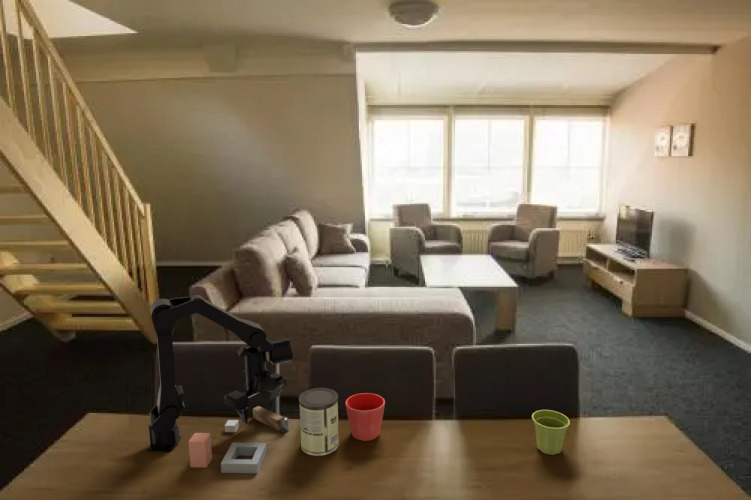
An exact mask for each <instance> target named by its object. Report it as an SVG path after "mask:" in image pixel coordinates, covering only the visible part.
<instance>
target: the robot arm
mask: <svg viewBox="0 0 751 500" xmlns="http://www.w3.org/2000/svg"><path fill="white" fill-rule="evenodd" d="M149 308H150V309H149V312H150V317H151V321H152V324H153V325H152V326H153V329H154V331H155V335H156V341H157V343H156V345H157V355H158V368H159V370H158V371H159V382H160V383H159V389H158V392H157V399H156V402H157V403H155V406H153V407H152V408H151V410H150V411H149V421H150V423H149V425H148V434H149V444H150V445H149V446H148V447H147V451H148V452H150V451H151V452H171V451H172V450H173V449H174V448H175V446H176V445H177V444H178V443H179V442H180V440H181V438H182V436H181V435H180V426H178V423H177V419H179V418H180V417H181V415H182V413H183V409H185V407H186V406H185V403H184V391H183V386H182V385H181V384H179V385H176V375H175V374H176V373H175V372H176V371H175V360H174V359H175V358H174V357H175V356H174V343H173V335H174V334H173V333H174V330H175V326H176V325H175V324H176V321H179V320H182V319H184V318H187V317H189V316H191V315H194V314H198V315H201V316H202V317H204V318H205V319H208V320H210V321H212V322H213V323H214V324H217V325H219V326H220V327H222V328H225V329H226V330H228V331H230V332H232V333H233V334H234V335H235V336H236V337H238V339H240V340H241V341H242V342H243V343H244V344H246V345H247V346H245V345H243V344H242V345H241V347H240V348H239V349H237V351H236V352H237V354H238V356H239V357H240V358H241V357H244V360H245V361H244V362H245V369H243V370H242V374H243V375H244V376H245V378H246V379H245V381H246V383H243V388H245V389H246V390H245V391H243V392H241V391H239V390H237V389H236V390H234V391H232V392H229V393H227V394H226V395H224V398H223V400H224V405H226V406H228V407H230V408H232V409H234V410H235V411H236V412H237V414H238V415H239V417H240V419H241V420H242V422H243V423H242V424H244V425H248V421H249V419H248V418H249V417H248V416H249V415H248V409H249V407H250V406H251V405H249V402H250V400H249V399H250V398H252V397H254V396H255V395H257V394H260V395H261V396H262V397H263V398H264V399H265V400H266V405H267V408H268V409H267V410H269V411H271V412H273V409H274V406H275V403H276V399H277V398H278V397H280V396H281V395H280V394H281V392H282V391H283V390H285V387H287V386H288V379H287V377H286V376H285V375H283V374H279V373H276V372H274V373H271V372H270V369H268V368H267V362H268V363H271V365H279V364H283V363H289V362H292V361H293V358H294V357H293V356H294V354H293V351H292V347H291V342H290V341H291V340H289V338H288V337H286V338H285V337H284V338H282V339H279V340H272V341H271V340H270V339H269V338H268V337H267V333H266V331H265V330H264V329H263V328H262V327H261V325H260V324H259V323H258V322H255V321H252V320H248V319H244V318H240V317H237V316H236V315H234V314H232V313H231V312H229V311H227V310H225V309H223V308H221V307H219V306H217V305H216V304H214V303H212V302H210V301H209V300H207V299H205V298H204V297H203V296H202V295H199V294H194V295H190V296H189V295H188V296H181V297H175V298H171V299H167V298H158V299H156V300H154V301H153V302H152V303H151V305H150V307H149Z"/></svg>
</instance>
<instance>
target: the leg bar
mask: <svg viewBox="0 0 751 500" xmlns="http://www.w3.org/2000/svg"><path fill="white" fill-rule="evenodd" d="M282 417H283V416H282V415H280V414H277V413H275V412H273V411H269V409H267V408H264V407H262V406H259V405H257V406H256V407H253V408H252V418H253V419H254V420H257V421H259V422H261V423H262V424H265V425H267V426H269V427H271V428H273V429H275V430H276V431H279V430H281V420H280V419H281V418H282Z"/></svg>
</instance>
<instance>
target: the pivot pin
mask: <svg viewBox="0 0 751 500" xmlns="http://www.w3.org/2000/svg"><path fill="white" fill-rule="evenodd" d="M280 420H281V429H280V432H281V433H287V432H289V429H290V428H289V427H290V426H289V423H290V422H289V417H288V416H282V418H281V419H280Z"/></svg>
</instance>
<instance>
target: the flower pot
mask: <svg viewBox="0 0 751 500" xmlns="http://www.w3.org/2000/svg"><path fill="white" fill-rule="evenodd" d="M344 405H345V409H346V414H347V418H348V423H349V428H350V431H351V435H352V437H353V438H354V439H356V440H359V441H364V442H365V441H367V442H368V441H373V440H375V439H377V438H378V437H379V435H380V432H381V427H382V422H383V418H384V411H385V405H386V400H385V398H383V397H382V396H381V395H379V394H376V393H372V392H365V393H364V392H363V393H362V392H361V393H355V394H353V395H351V396H349V397H348V398H347V399H346V400H345V404H344Z"/></svg>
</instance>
